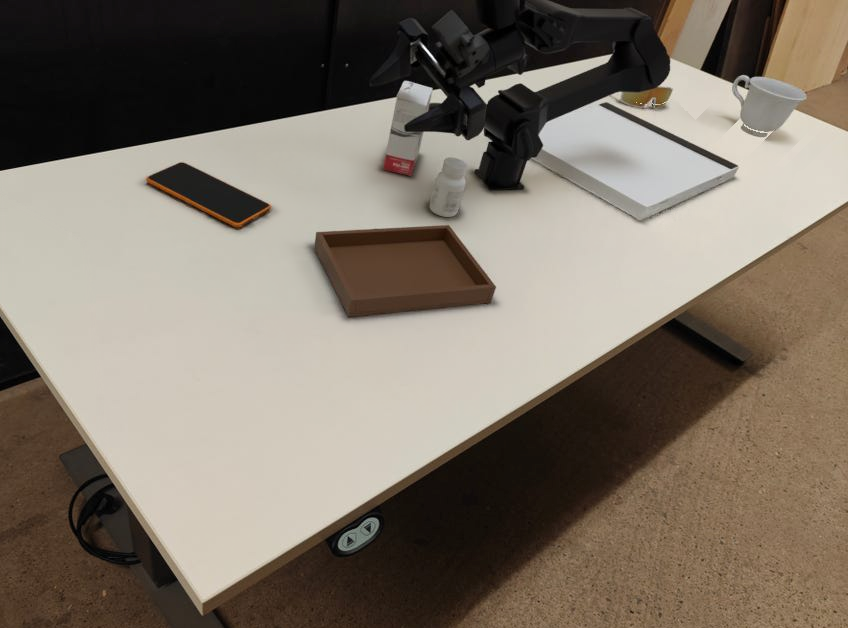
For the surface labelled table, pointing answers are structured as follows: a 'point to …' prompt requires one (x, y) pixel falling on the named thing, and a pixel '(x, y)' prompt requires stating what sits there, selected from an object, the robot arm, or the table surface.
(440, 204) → the pill bottle
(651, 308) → the table surface
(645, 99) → the sunglasses
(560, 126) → the white flat slab
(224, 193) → the smartphone
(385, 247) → the tray
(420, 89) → the ink box
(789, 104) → the teacup
